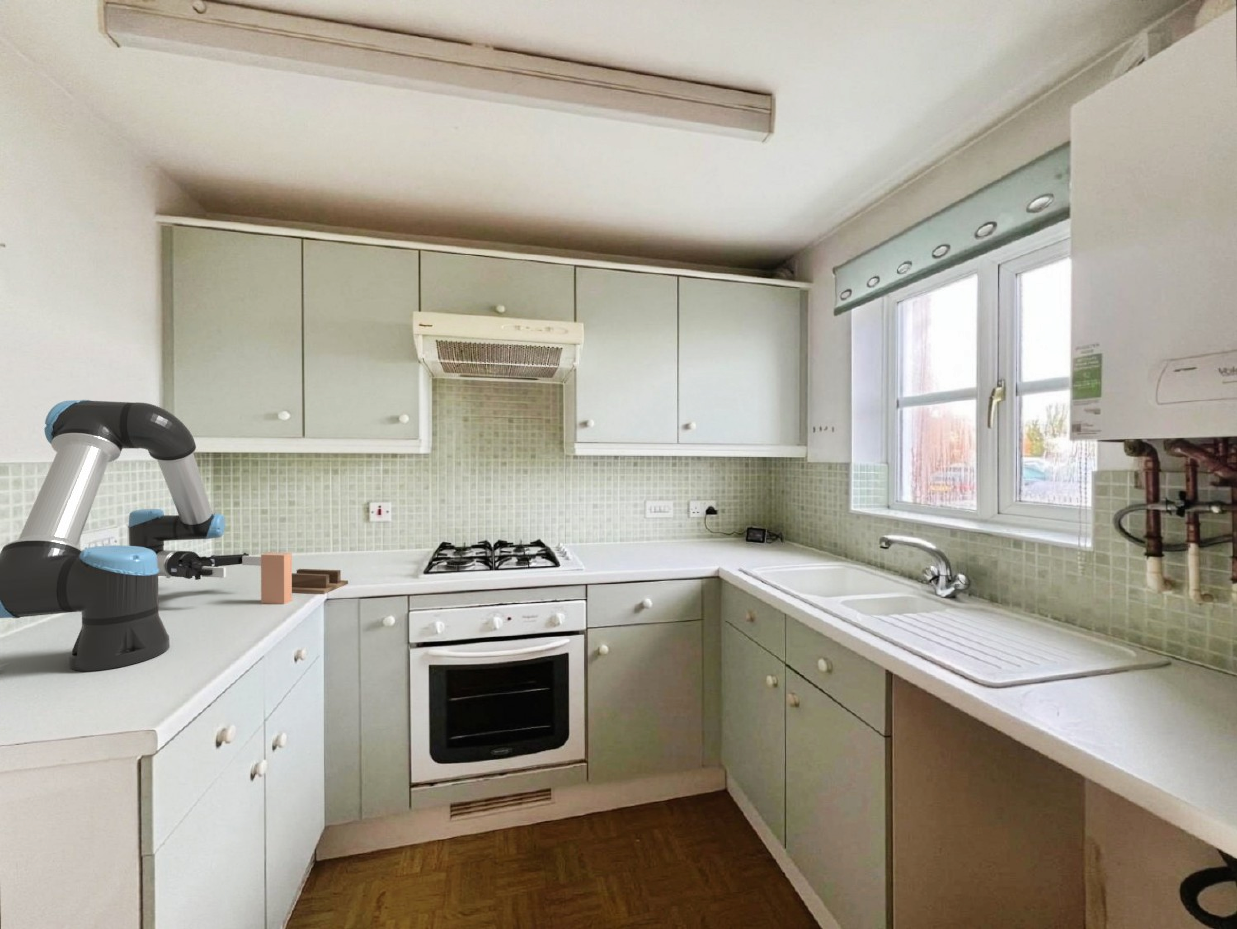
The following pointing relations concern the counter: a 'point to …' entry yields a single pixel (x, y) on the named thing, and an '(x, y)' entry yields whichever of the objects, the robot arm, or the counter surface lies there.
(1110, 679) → the counter surface
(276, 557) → the salmon orange block
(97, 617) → the robot arm
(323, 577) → the slot rack
